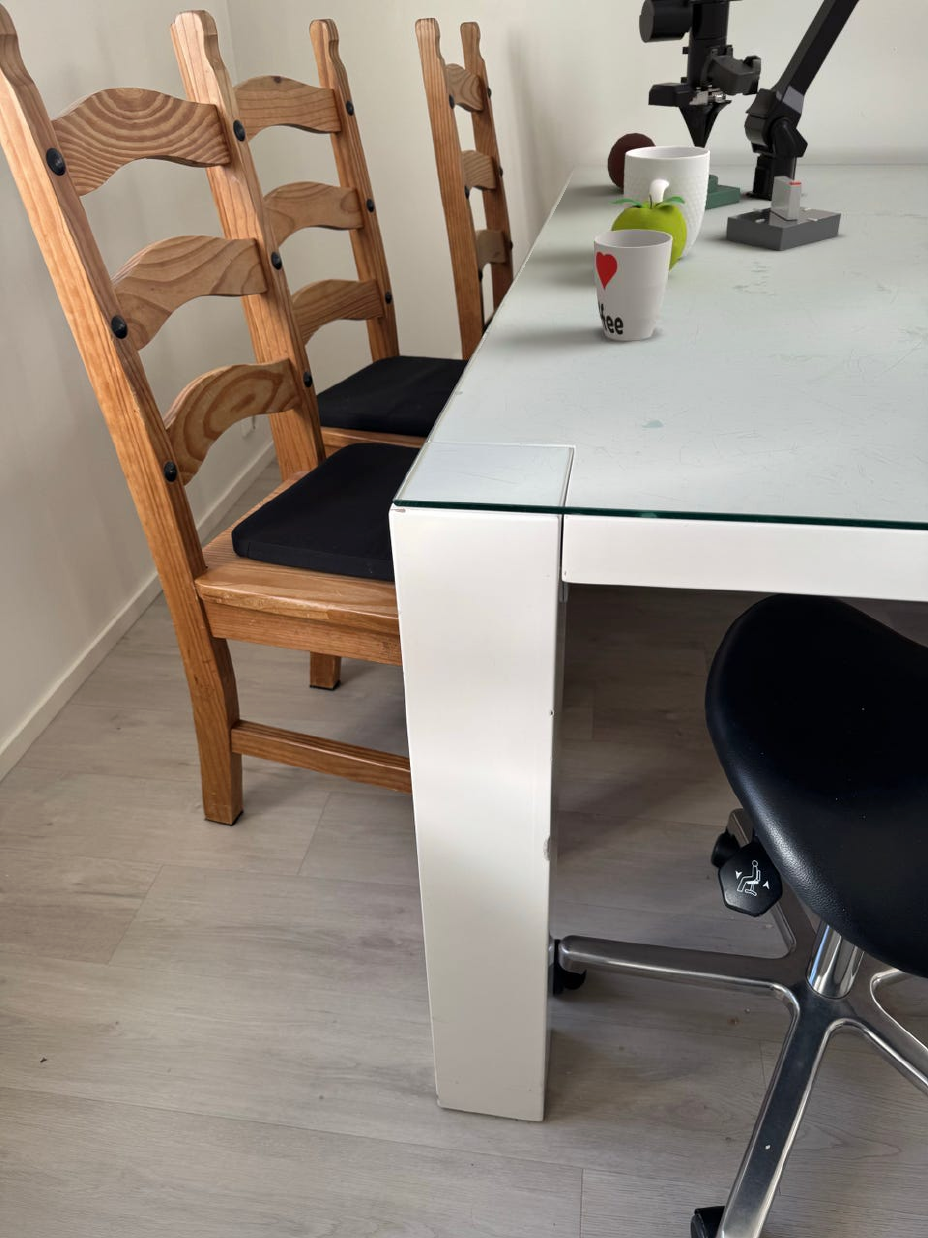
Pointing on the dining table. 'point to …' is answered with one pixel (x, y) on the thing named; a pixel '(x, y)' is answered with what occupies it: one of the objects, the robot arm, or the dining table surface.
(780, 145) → the robot arm
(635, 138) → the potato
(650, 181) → the mug
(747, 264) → the dining table surface
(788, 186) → the red-tipped white block
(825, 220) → the base
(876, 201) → the dining table surface
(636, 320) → the cup
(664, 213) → the fruit
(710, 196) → the tap control
